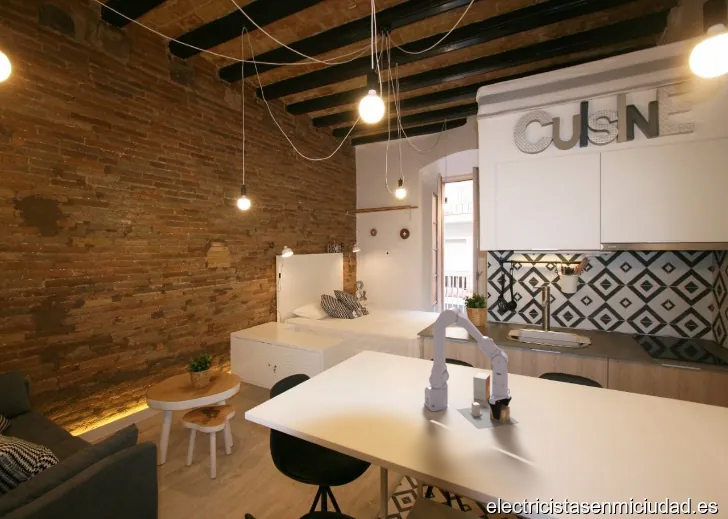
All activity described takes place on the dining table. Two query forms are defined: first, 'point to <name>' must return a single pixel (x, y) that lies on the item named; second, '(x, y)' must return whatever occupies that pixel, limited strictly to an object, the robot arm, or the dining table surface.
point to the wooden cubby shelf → (502, 414)
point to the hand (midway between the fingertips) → (499, 416)
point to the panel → (482, 416)
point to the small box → (481, 386)
